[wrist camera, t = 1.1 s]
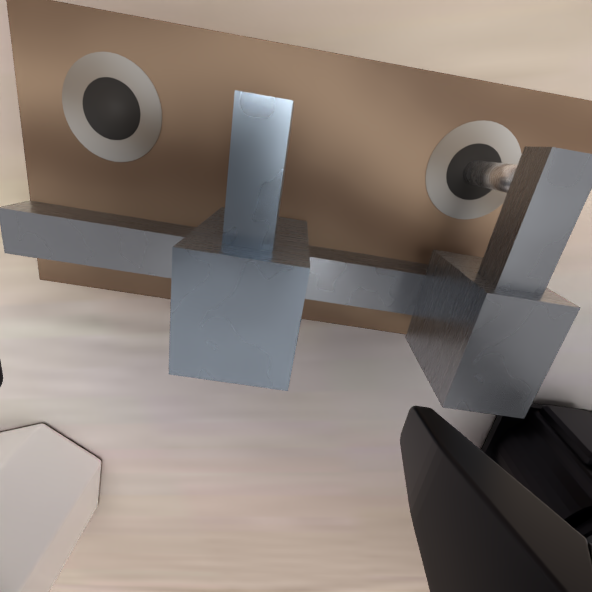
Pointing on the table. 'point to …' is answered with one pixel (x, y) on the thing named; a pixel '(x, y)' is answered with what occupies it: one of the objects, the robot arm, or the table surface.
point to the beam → (399, 277)
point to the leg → (243, 263)
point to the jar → (42, 505)
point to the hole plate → (302, 144)
